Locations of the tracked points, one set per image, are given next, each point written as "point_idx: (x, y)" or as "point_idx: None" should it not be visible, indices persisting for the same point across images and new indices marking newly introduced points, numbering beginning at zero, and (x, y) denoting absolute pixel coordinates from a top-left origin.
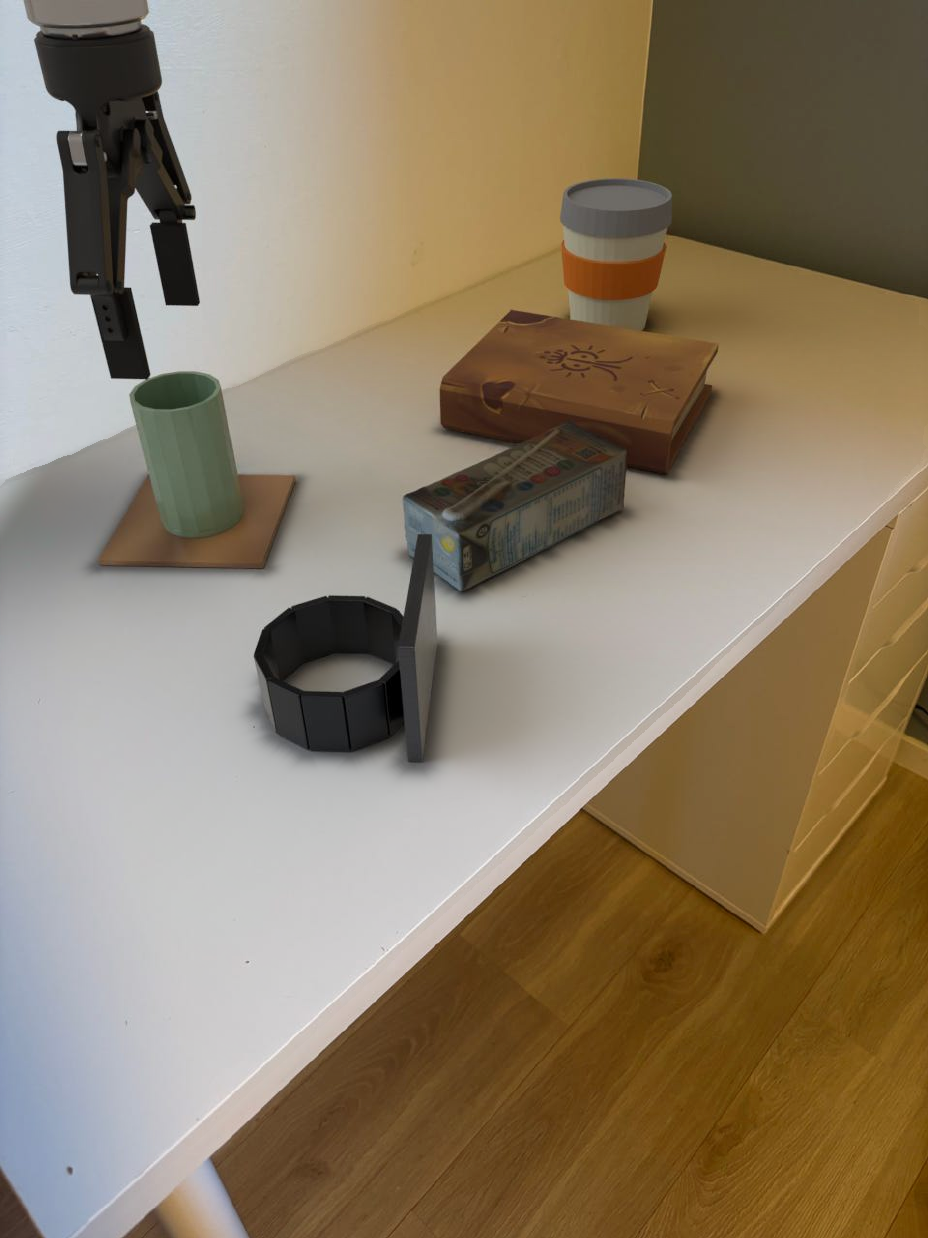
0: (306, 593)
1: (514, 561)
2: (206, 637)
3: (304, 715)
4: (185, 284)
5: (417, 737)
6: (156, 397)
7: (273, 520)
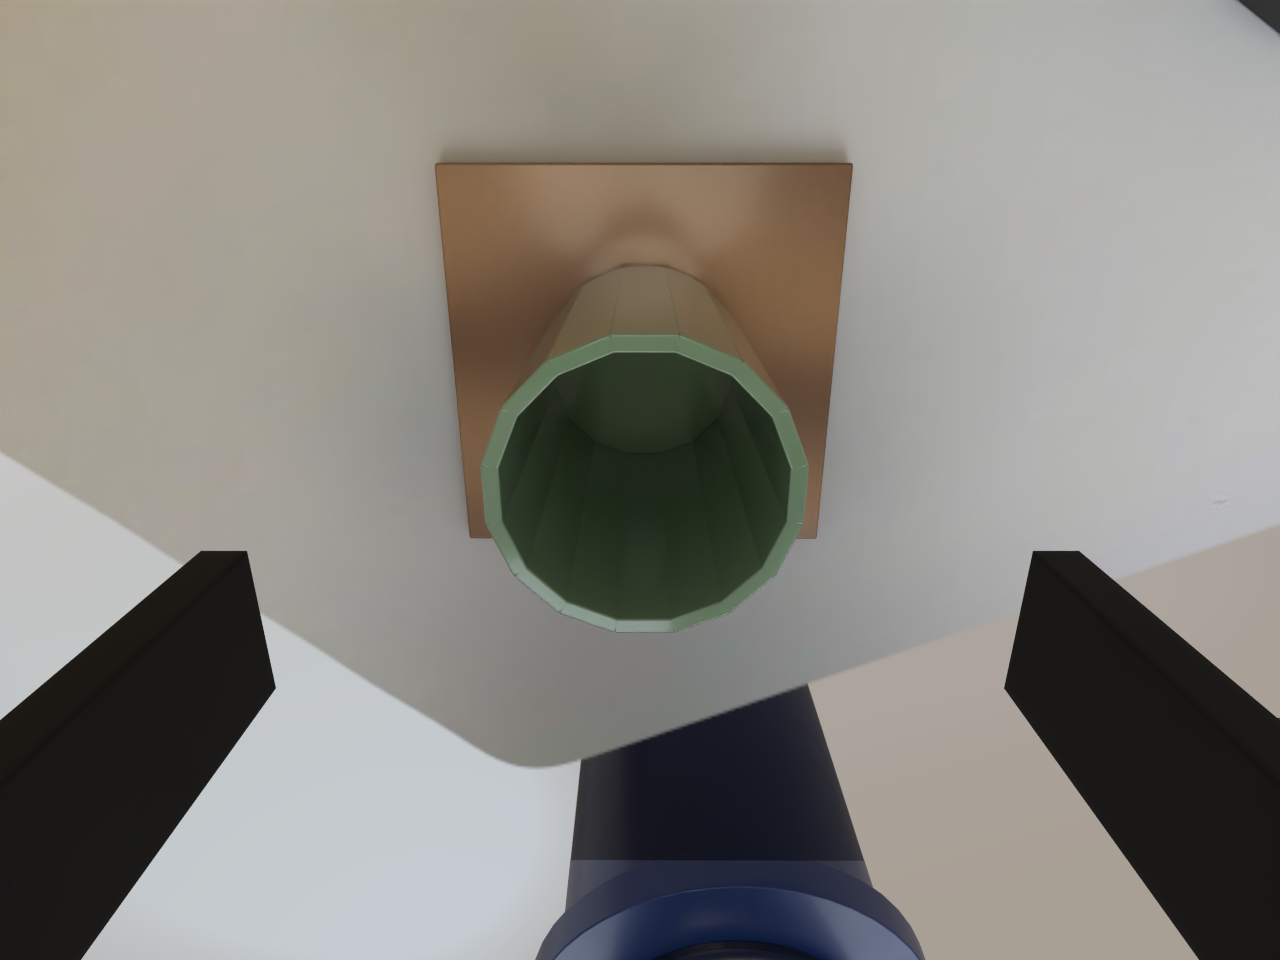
0: (961, 20)
1: None
2: (1093, 238)
3: None
4: (198, 649)
5: None
6: (566, 560)
7: (663, 176)
